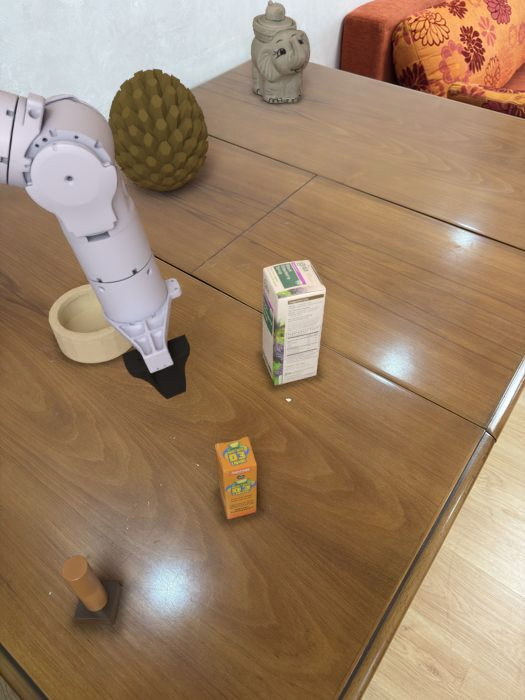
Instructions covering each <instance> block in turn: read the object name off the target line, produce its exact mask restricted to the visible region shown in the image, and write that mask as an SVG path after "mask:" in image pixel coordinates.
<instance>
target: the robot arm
mask: <svg viewBox="0 0 525 700" xmlns="http://www.w3.org/2000/svg"><path fill="white" fill-rule="evenodd" d="M0 184H2V185H6V186H9V187H14V188H18V189H24V190H25V192H26V193H27V195H28V196H29V197H30V198H31V200H32V201H34V202H35V203H36V204H37V205H38V206H39V207H41V208H43V209H44V210H46V211H47V212H50V213H51V214H53V215H55V217H56V219H57V221H58V223H59V226H60V229H61V231H62V234H63V235H64V237H65V238H66V240H67V242H68V244H69V246H70V249H71V250H72V252H73V254H74V256H75V258H76V260H77V262H78V263H79V265H80V267H81V269H82V271H83V273H84V275H85V278H86V279H87V282H88V284H90V285H91V287H92V289H93V291H94V293H95V294H96V296H97V298H98V300H99V302H100V304H101V306H102V313H103V315H104V317H105V319H106V321H107V322H108V323H109V324H110V325H111V326H112V327H113V328H114V329H115V330H116V331H117V332H118V333H120V334H121V335H122V336H123V337H124V338H125V339H126V340H127V341H128V342H129V343H130V344H132V345H133V346H132V347H133V348H134V349H132V350H130V351H129V350H128V351H126V352H125V353H123V354H122V355H121V357H122V361H123V364H124V367H125V369H126V371H127V372H128V374H129V375H130V376H131V377H132V378H135V379H140V380H143V381H144V382H146V383H148V384H149V385H151V386H152V387H153V388H154V389H155V390H156V391H157V392H158V393H159V395H161V396H162V397H163V398H165V399H166V400H169V399H171V398H175V397H177V396H179V395H181V394H185V393H186V392H187V379H186V378H187V376H186V364H187V361H188V359H189V357H190V355H191V345H190V343H189V341H188V338H187V336H186V334H181V335H179V336H177V337H174V338H171V339H168V336H169V335H168V334H169V327H170V318H171V317H170V316H171V308H172V302H173V300H174V299H176V298H179V297H180V296H182V294H183V290H182V288H181V285H180V283H179V282H178V279H177V278H176V277H171V278H168V279H165V280H164V278H163V276H162V273H161V271H160V268H159V265H158V261H157V260H156V258H155V255H154V252H153V249H152V246H151V244H150V241H149V238H148V235H147V233H146V230H145V228H144V225H143V222H142V221H141V218H140V214H139V212H138V210H137V208H136V205H135V202H134V200H133V199H132V196H131V195H130V194H129V190H128V187H127V184H126V182H125V180H124V179H123V176H122V174H121V172H120V169H119V166H118V165H116V160H115V153H114V139H113V135H112V131H111V128H110V126H109V124H108V120H107V119H106V117H105V116H104V114H103V113H101V111H100V110H98V109H97V108H96V107H95V106H93V105H91V104H90V103H88V102H86V101H83V100H81V99H80V98H78V97H77V96H75V95H74V94H68V93H64V94H63V93H62V94H55V95H52V96H49V97H47V98H45V97H44V96H42V95H40V94H36V93H32V92H28V95H27V97H25V96H22V95H19V94H15V93H12V92H9V91H6V90H2V89H0Z"/></svg>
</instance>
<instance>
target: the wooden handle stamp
mask: <svg viewBox="0 0 525 700" xmlns="http://www.w3.org/2000/svg"><path fill="white" fill-rule="evenodd" d="M61 574H62V577H63V578H64V580H65V581H66V582H67V584H68V585H69V587H70V588H71V589H72V590H73V592H74V593H75V594H76V596H77V597H78V598H79V599H78V602H77V606H76V609H75V613H74V616H73V617H74V618H73V619H74V620H75V621H76V622H77V624H80V625H100V626H114V625H115V623H116V617H117V612H118V609H119V603H120V600H121V594H122V590H123V589H122V586H121V585H120V582H116V581H115V582H114V581H100V579H99V577H98V576H97V574H96V573H95V571H94V570H93V568H92V566H91V565H90V563H89V562H88V560H87V559H86V558H85V556H83V555H73V556H70V557H69V558H68V559H66V560H65V562H64V563H63V565H62V568H61Z"/></svg>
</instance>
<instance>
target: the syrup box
mask: <svg viewBox="0 0 525 700" xmlns="http://www.w3.org/2000/svg"><path fill="white" fill-rule="evenodd" d="M326 294H327V288H326V286H325V285H324V284H323V282H322V280H321V278H320V275H319V273H318V272H317V270H316V268H315V267H314V266H313V264H312V262H311V260H310V259H301V260H294V261H293V260H292V261H286V262H282V263H281V262H280V263H277V264H272V265H269V266H266V267H263V269H262V332H261V333H262V338H261V339H262V357H263V360H264V363H265V366H266V368H267V370H268V373H269V375H270V377H271V380H272V382H273V385H274V386H279V385H285V384H287V383H292V382H296V381H300V380H303V379H308V378H310V377H314V376H317V374H318V366H319V357H320V350H321V349H320V348H321V341H322V340H321V339H322V331H323V322H324V313H325V304H326V297H327V295H326Z"/></svg>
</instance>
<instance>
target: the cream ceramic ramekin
mask: <svg viewBox="0 0 525 700" xmlns="http://www.w3.org/2000/svg"><path fill="white" fill-rule="evenodd" d="M48 324H49V325H50V327H51V330H52V333H53V335H54V337H55V340H56V343H57V344H58V346H59V349H60V351H61V352H62V353H63V354H64V356H66V357H67V358H69V359H70V360H72V361H75V362H78V363H84V364H99V363H104V362H108V361H111V360H114V359H116V358H118V357H120V356H122V354H124V353H127V352H128V351H129V350H130V349H131V348H132V347H134V346H133V345H132V344H130V343H129V342H128V341H127V340H126V339H125V338H124V337H123V336H122V335H121V334H120V333H118V332H117V331H116V330H115V329H114V328H113V327H112V326H111V325H110V324H109V323H108V322H107V321H106V319H105V317H104V315H103V313H102V306H101V304H100V302H99V300H98V298H97V296H96V294H95V293H94V291H93V289H92V287H91V285H90V283H87V284H83V285H79V286H77V287H74V288H72V289H70V290H68V291H66V292H65V293H63V294H61V296H59V298H57V299H56V300H55V301H54V302H53V304H52V306H51V308H50V310H49V312H48Z"/></svg>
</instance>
